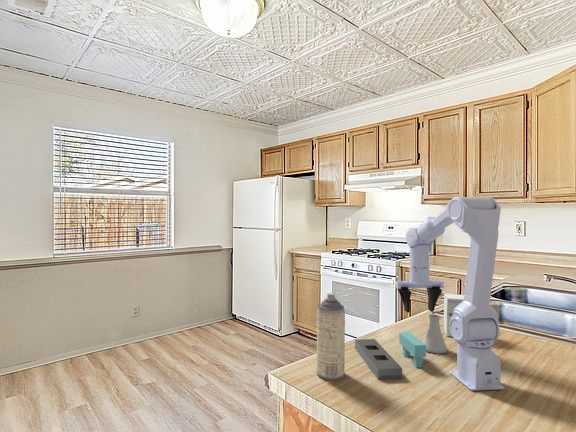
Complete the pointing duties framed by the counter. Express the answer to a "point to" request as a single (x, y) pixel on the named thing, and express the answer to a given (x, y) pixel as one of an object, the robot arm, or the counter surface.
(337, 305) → the aerosol can
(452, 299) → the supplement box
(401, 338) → the clip
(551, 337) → the counter surface
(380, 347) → the rail
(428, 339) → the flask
